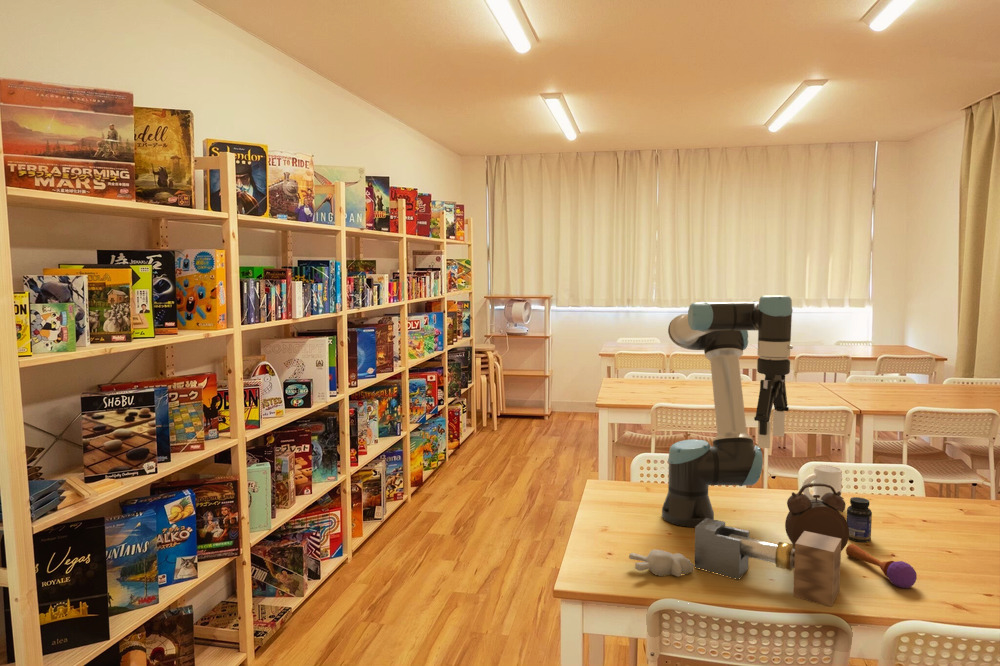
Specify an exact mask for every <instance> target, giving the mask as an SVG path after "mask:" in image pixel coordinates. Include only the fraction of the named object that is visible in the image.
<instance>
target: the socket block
mask: <svg viewBox="0 0 1000 666" xmlns="http://www.w3.org/2000/svg"><path fill="white" fill-rule="evenodd" d="M841 555H842V551H841V538H836V537H831V536H826V535H822V534H817V533H812V532H807V531H804V532H803V533H802V535H801V536H800V537H799V539H798V540H797V541H796V543H795V560H794V568H793V593H792V596H793V597H794V598H797V599H801V600H806V601H809V602H812V603H816V604H820V605H824V606H828V607H831V608H832V607H833V605H834V603H835V601H836V599H837V596H838V595H839V592H840V582H841V563H842V562H841V560H842V559H841V558H842V557H841Z"/></svg>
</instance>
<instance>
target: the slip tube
mask: <svg viewBox="0 0 1000 666" xmlns="http://www.w3.org/2000/svg"><path fill="white" fill-rule="evenodd" d="M729 537H733V538H737V539H741V555H743V556H747V557H749V558H752V559H756V560H760V561H764V562H769V563H771V564H775V567H776V568H778V569H782V570H786V571H792V570H793V569H794V560H795V546H794V545H793V544H792V543H788V542H783V541H778V543H777V544H776V543H772V542H767V541H764V540H760V539H755V538H750V537H749V538H747V537H743V536H738V535H734V534H730V535H729Z"/></svg>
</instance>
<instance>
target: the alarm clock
mask: <svg viewBox="0 0 1000 666" xmlns="http://www.w3.org/2000/svg"><path fill="white" fill-rule="evenodd" d="M813 486H824V487H828V488H831V490H832V491H833V493H826V494H824V495H823V496H822V498H821V500H822V501H821V500H817V498H820V495H813V497H814V498H816V499H809V498H808V497H807V496H806V495H805V494H804V493H803V491H804V489H805V488H808V487H809V488H811V487H812V488H813ZM840 495H841V496H840ZM844 499H845V498H844V497H843V496H842V491H841V492H840V491H838V492H837V493H836V491H835V490H834V488H833V487H832V486H830V485H827V484H821V483H812V482H811V483H810V484H807V485H804V486H802V485H801V488H800V489H799V491H798V492H797V493H795V492H791V495H790V496H789V498H787V501H786V505H787V508H788V511H789V512H788V513H787V515H786V517H785V521H784V522H785V524H784V526H785V527H784V529H785V533H786V536H787V537H788V539H789V540H790V543H791V544H793V545H794V546H795V543H796V541H797V540H798V539H799V537H800V536H801V535H802V533H803V532H804V531H807V532H812V533H817V534H822V535H826V536H831V537H836V538H841V552H842V551H843V550H844V549H845V547H847V546H846V545H847V544H848V541H849V540H850V539H849V527H848V523H847V518H845V517H844V515H843V513H844V511H845V510H846V504H847V503H846V501H845V500H844Z"/></svg>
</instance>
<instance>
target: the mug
mask: <svg viewBox="0 0 1000 666" xmlns="http://www.w3.org/2000/svg"><path fill="white" fill-rule="evenodd" d="M842 481H843V469H841V468H840V467H838V466H834V465H830V464H829V465H828V464H819V465H817V464H816V465H815V466H814V467H813V473H812V474H808V475H807V476H806V478H804V479H803V481H802V485H801V487H802V486H804V485H807V484H812V482H813V483H821V484H827V485H830V486H832V487H833V488H834V490H835V491H836V493H837V492H838V491H840V492H841V493H842V485H843V484H842V483H843V482H842ZM826 493H833V491H832V490H831V488H828V487H824V486H812V492H811V491H810V487H808V488H805V489H804V491H803V492H802V494H805V495H806V496H807V497H808V498H809V499H816V498H814V497H813V495H820V498H817V500H821V498H822V496H823V495H824V494H826ZM840 496H841V497H842V494H841V495H840ZM821 501H822V500H821Z"/></svg>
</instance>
